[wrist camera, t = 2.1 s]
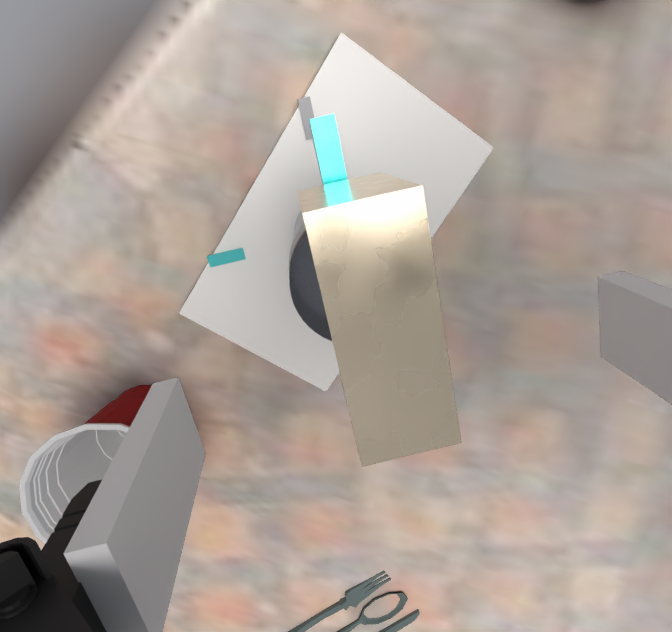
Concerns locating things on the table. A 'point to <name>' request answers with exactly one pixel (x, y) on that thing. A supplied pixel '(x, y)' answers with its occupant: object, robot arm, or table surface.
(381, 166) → the base
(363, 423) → the beige boxy piece
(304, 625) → the cutlery set
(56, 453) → the plastic cup
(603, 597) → the table surface
